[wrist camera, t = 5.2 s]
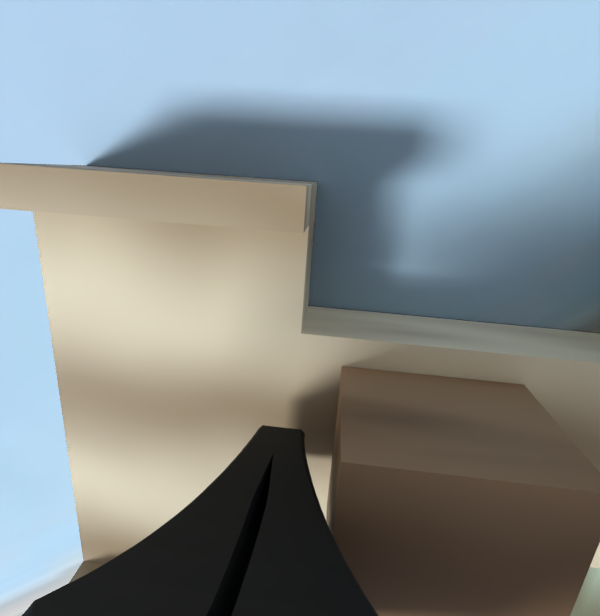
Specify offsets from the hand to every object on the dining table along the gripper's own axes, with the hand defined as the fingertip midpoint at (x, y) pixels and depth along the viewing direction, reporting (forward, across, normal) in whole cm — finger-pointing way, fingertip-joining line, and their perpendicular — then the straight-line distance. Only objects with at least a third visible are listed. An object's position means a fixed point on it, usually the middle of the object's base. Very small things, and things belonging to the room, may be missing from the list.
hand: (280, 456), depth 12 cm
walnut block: (+1, -4, 0) cm, 4 cm away
